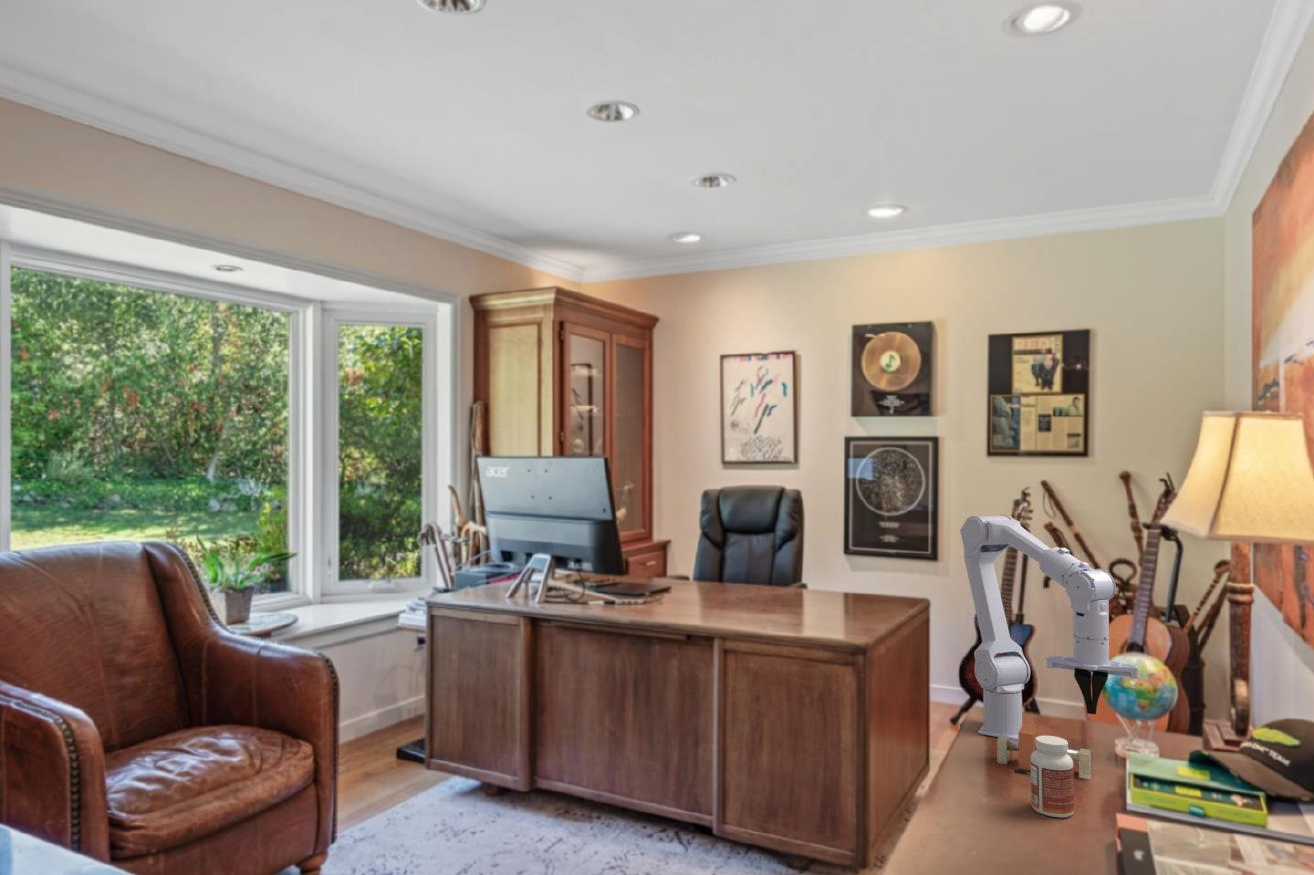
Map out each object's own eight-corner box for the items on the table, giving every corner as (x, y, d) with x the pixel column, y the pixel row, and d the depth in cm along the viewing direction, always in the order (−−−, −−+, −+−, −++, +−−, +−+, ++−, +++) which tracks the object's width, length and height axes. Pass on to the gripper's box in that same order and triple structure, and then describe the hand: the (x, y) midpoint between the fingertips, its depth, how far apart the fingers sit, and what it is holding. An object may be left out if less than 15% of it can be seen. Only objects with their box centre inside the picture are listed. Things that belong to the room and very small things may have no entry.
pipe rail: (994, 768, 149) (993, 744, 149) (1003, 752, 157) (1003, 729, 157) (1087, 786, 141) (1087, 760, 141) (1092, 768, 149) (1091, 744, 149)
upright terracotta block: (1018, 768, 148) (1018, 732, 148) (1023, 758, 153) (1023, 723, 153) (1033, 771, 147) (1033, 734, 147) (1038, 760, 152) (1038, 725, 152)
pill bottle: (1082, 813, 130) (1081, 741, 130) (1060, 822, 126) (1059, 749, 127) (1045, 799, 135) (1044, 731, 135) (1022, 808, 132) (1022, 737, 132)
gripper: (1044, 636, 150) (1044, 711, 150) (1136, 645, 143) (1137, 725, 142) (1049, 629, 156) (1049, 702, 156) (1137, 638, 149) (1138, 714, 148)
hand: (1091, 712), depth 149 cm, fingers closed
